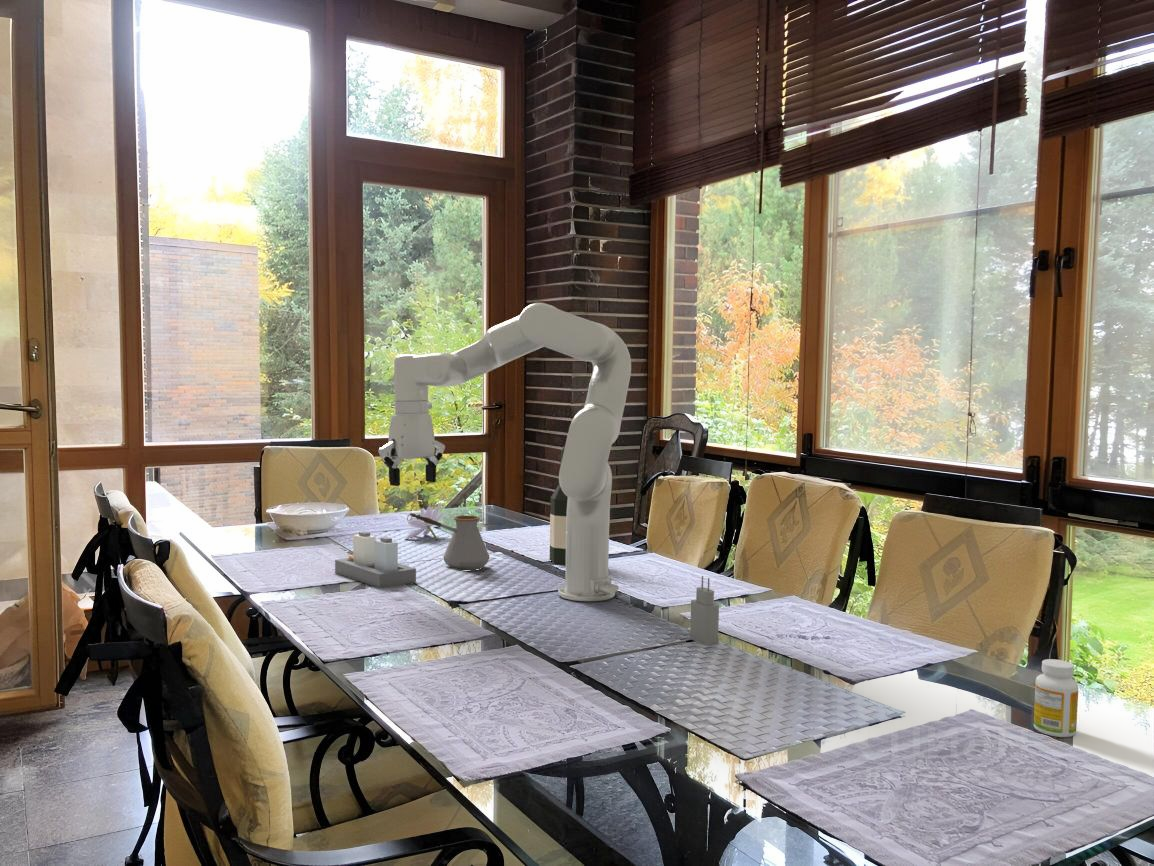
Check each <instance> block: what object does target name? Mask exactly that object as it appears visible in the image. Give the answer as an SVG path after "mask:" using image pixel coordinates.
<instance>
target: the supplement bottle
mask: <svg viewBox="0 0 1154 866" xmlns="http://www.w3.org/2000/svg"><path fill="white" fill-rule="evenodd" d="M1041 672H1043V673H1041V674H1039V675H1037V676H1036V678H1035V685H1034V686H1035V687H1034V705H1033V707H1034V708H1033V727H1034V729H1035V730H1036V731H1038V732H1040V733H1042V734H1044V735H1048V736H1051V737H1055V738H1071V737H1073V736H1075V735H1076V734H1077V728H1078V727H1077V724H1078V723H1077V722H1078V721H1077V720H1078V705H1079V704H1078V703H1079V683H1078V682H1077V681H1076V679H1074V678H1072V677H1074V673H1075V666H1074V664H1073V663H1072V662H1069V661H1066V660H1062V659H1053V658H1049V659H1048V658H1047V659H1043V660H1042V661H1041Z"/></svg>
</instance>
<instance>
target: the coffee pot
mask: <svg viewBox="0 0 1154 866" xmlns="http://www.w3.org/2000/svg"><path fill="white" fill-rule="evenodd" d="M410 516H411V517H410ZM409 517H410V518H409ZM412 518H417V519H418V520H419V519H420V520H421V521H423V522H426V523H429V524H432V525H433V526H436V527H440V528H442V529H445V530H447V531H450V532H453V533H452V536H451V538H450V540H449V543H448V545H447V547H446V550H445V552H444V553H443V554H444V555H443V557H442V558H443V561H444V563H445V564H446V565H447V566H448V567H449V568H453V569H454V570H455V569H456V570H459V571H462V570H476V569H480V568H481V567H482V568H483V567H485V566H486V565H487V564H488V562H489V560H490V554H489V552H488V550H487V547H486V545H485V542H484V539H483V537H482V535H481V532H480V530H479V527H478V522H479V521H480V520H481V518H480V516H477V515H457V516H454V517H453V520H455V524H456V525H455V526H456V527H452V526H449V525H446V524H443V523H441V522H440V521H438V522H437V521H434V520H432V519H430V518H427V517H422V516H421V514H416V513H412V512H410V513H409V514H408V515H407V516H406V521H407V522H409V521H411V519H412Z"/></svg>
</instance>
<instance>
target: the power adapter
mask: <svg viewBox="0 0 1154 866" xmlns="http://www.w3.org/2000/svg"><path fill="white" fill-rule="evenodd" d="M695 594H696V596H695V597H696V599H691V600H690V623H689V625H690V629H689V639H690V640H692V641H694V642H696V643H699V644H701V645H704V646H712V645H713V646H714V645H717V644H719V621H720V619H719V618H720V617H719V616H720V604H719V603H716V602H715V590H713V589H710V577H708V578H707V587H704V576H703V575H701V585H700V587H699V586H698V587H696V593H695Z"/></svg>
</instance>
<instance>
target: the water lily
mask: <svg viewBox="0 0 1154 866" xmlns="http://www.w3.org/2000/svg"><path fill="white" fill-rule="evenodd" d="M441 506H442V502H440V503H438V505H437V506H436V507H435V508H433V507H432V506H431V505H429V506H428V507H427V508H426V509H425V508H424V507H421V509H420V511H419V512H420V516H422V517H427V518H430V519H432V520H434V521H437V522H440V521H441V520H442V519H443V517H444V516H445V515H446V512H441V513H440V510H441V508H442V507H441ZM439 513H440V514H439ZM410 519H411V518H410ZM407 523H408V525H409V527H410V528H414V529H413V530H411V531H408V532H407V534H406V535H408V536H406V538H405V539H408V540H410V539H409V538H411V539H413V538H414V537H416V536H419V535H421V534H422V536H427V535H428V534H429V533H431V534H432V536H433V538H434V539H435V540H436V539H438V540H439V538H438V537H437V535H436V534H435V532H434V531H433V529H432V527H433V526H434V525H432V524H429V523H426V522H424V521H422V520H420V519H419V520H418V519H417V518H415V517H412V519H411V520H410V521H409V520H408V521H407Z"/></svg>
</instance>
